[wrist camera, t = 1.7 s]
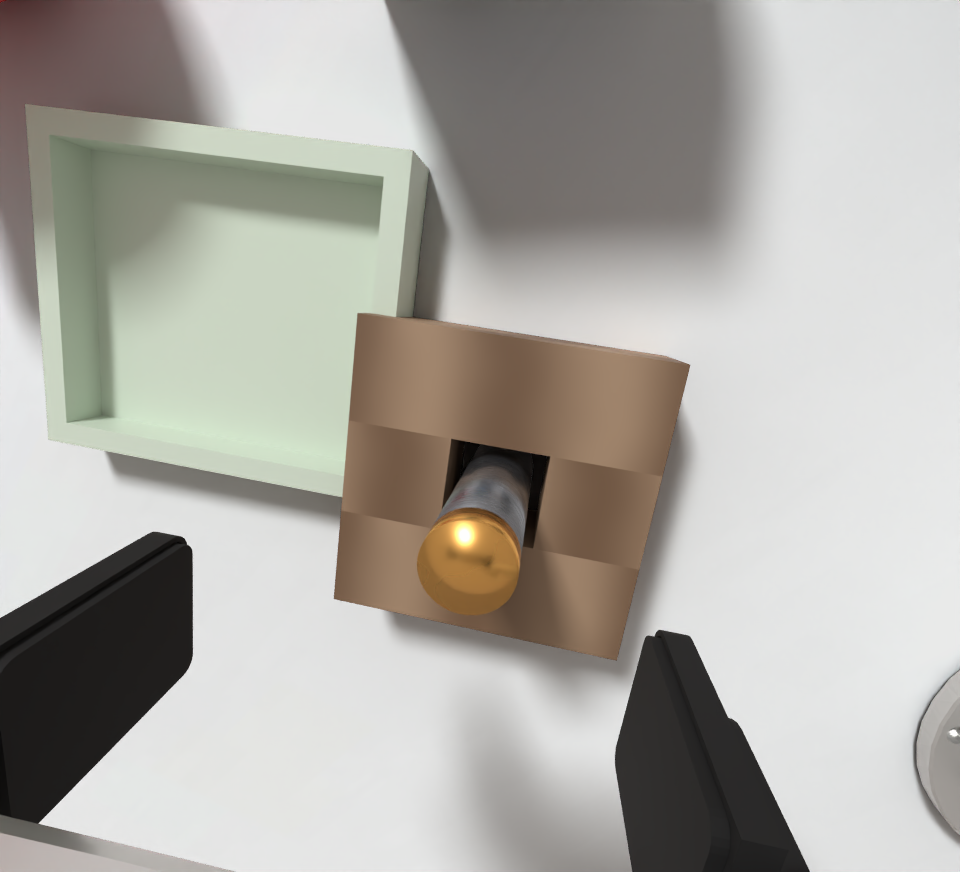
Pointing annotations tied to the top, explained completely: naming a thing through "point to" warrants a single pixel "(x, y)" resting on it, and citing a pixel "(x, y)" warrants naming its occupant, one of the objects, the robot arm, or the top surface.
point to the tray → (214, 287)
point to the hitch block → (517, 426)
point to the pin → (479, 534)
